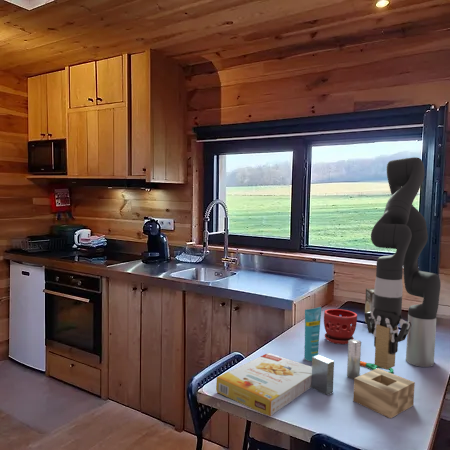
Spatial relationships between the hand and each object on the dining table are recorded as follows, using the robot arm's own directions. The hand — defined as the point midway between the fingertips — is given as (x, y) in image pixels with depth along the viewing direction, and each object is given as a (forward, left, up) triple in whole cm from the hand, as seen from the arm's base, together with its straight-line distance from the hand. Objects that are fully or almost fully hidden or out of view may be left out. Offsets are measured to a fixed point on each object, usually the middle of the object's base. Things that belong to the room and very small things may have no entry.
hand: (385, 351), depth 124 cm
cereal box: (+20, -27, -16) cm, 38 cm away
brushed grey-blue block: (+8, -16, -16) cm, 24 cm away
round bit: (-8, -16, -16) cm, 24 cm away
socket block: (0, 0, -16) cm, 16 cm away
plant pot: (-32, -40, -16) cm, 54 cm away
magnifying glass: (-20, -17, -16) cm, 31 cm away
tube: (-8, -34, -16) cm, 38 cm away
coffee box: (-63, -44, -16) cm, 78 cm away
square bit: (0, 0, -4) cm, 4 cm away
